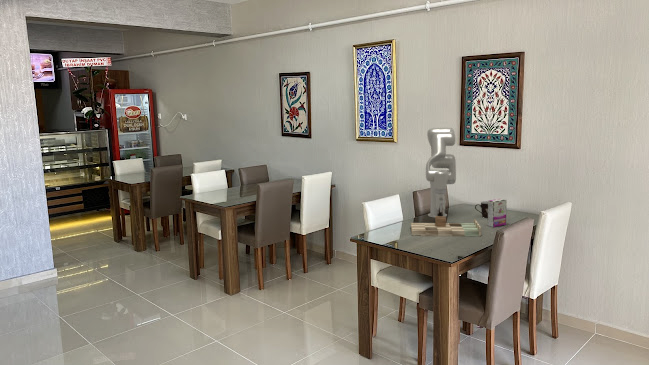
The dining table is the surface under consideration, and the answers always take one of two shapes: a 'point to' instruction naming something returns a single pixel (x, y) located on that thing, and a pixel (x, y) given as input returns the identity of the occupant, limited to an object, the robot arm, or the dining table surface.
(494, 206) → the candy bar box
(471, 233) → the trap deck
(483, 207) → the coffee mug
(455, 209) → the dining table surface
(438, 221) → the walnut block
